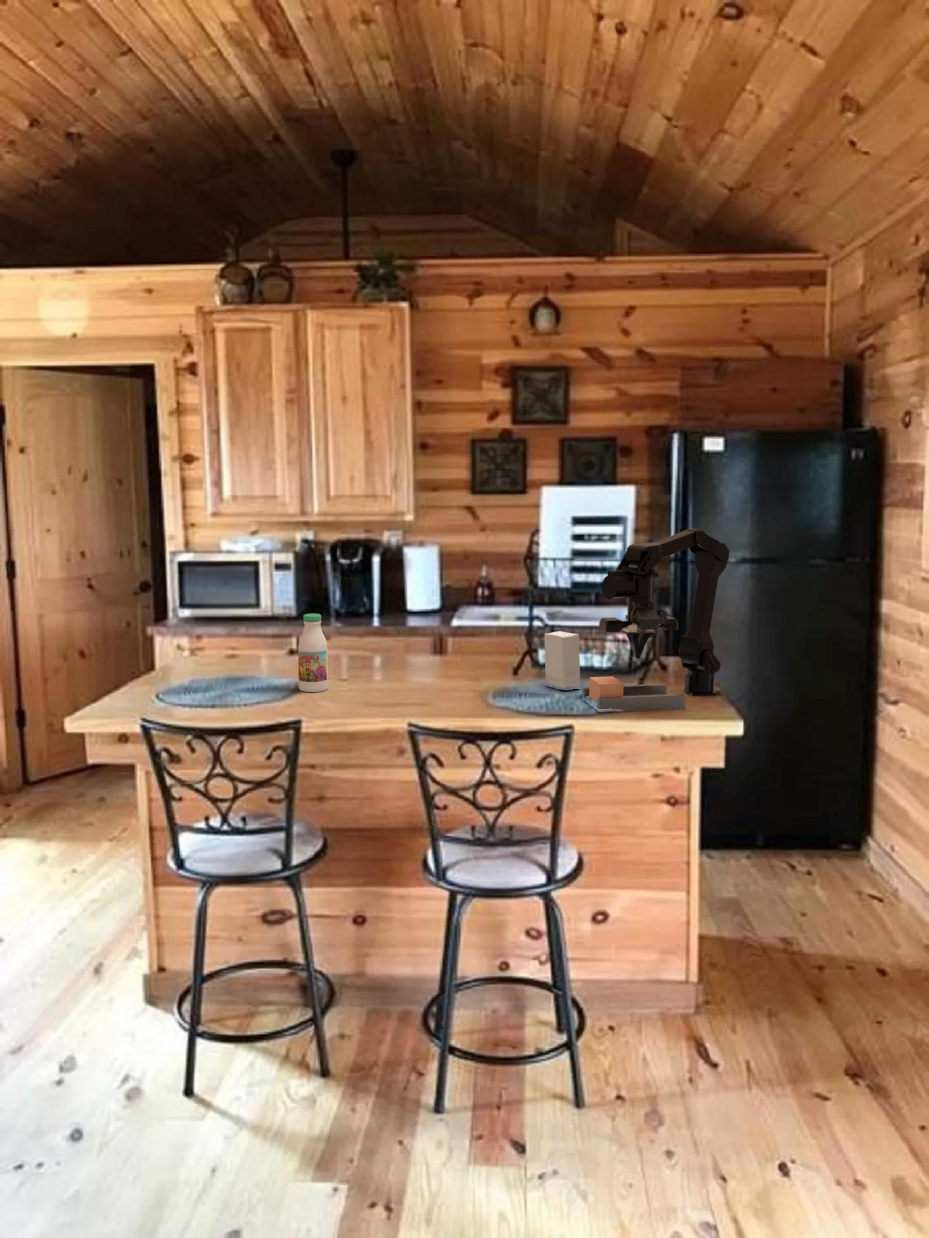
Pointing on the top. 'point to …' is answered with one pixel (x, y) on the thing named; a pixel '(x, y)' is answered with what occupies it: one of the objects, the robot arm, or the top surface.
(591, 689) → the block
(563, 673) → the skincare box
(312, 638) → the milk bottle
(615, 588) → the robot arm
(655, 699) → the chute
